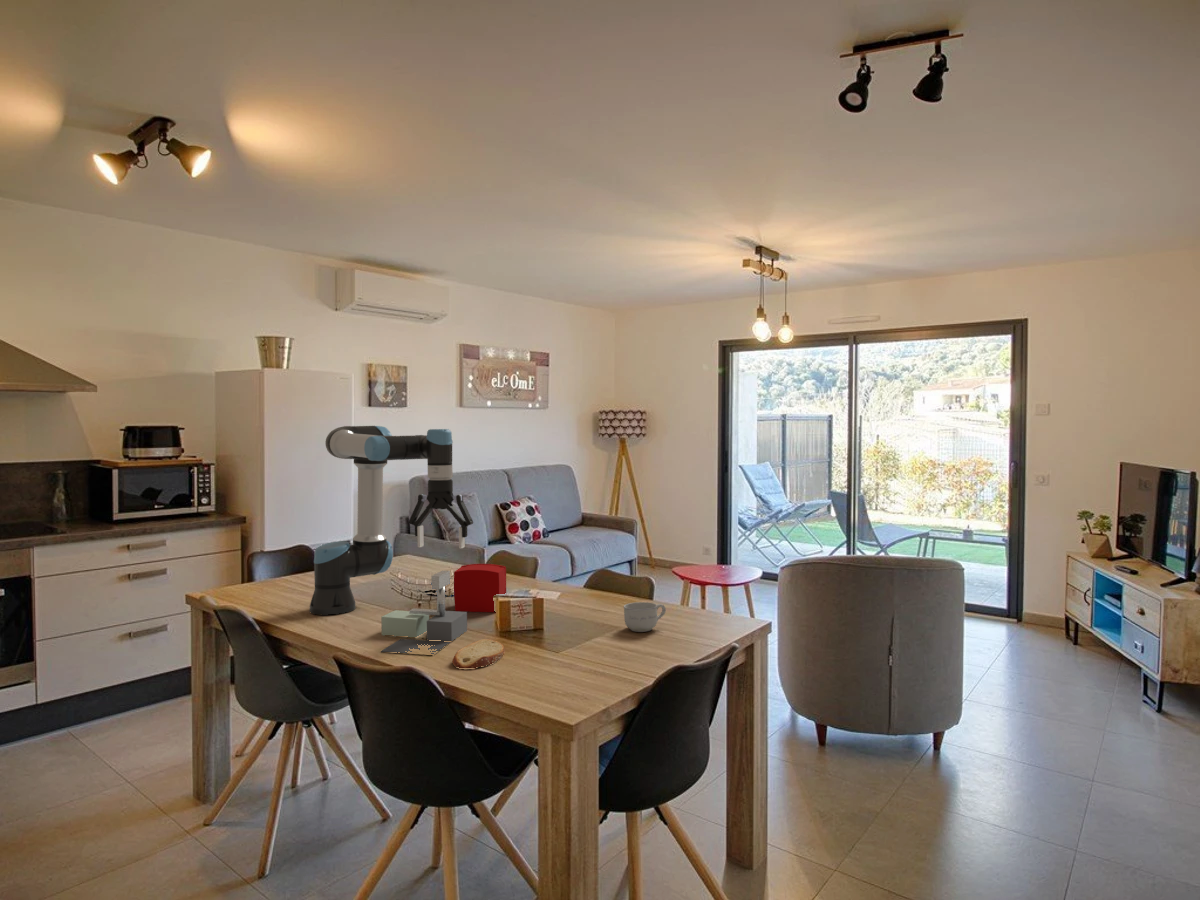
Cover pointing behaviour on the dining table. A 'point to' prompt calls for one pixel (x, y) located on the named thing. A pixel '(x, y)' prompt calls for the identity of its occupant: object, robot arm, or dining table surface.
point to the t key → (437, 583)
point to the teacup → (642, 615)
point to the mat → (413, 645)
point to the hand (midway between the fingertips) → (441, 547)
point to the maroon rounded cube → (478, 586)
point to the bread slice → (479, 654)
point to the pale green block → (404, 624)
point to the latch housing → (447, 626)
